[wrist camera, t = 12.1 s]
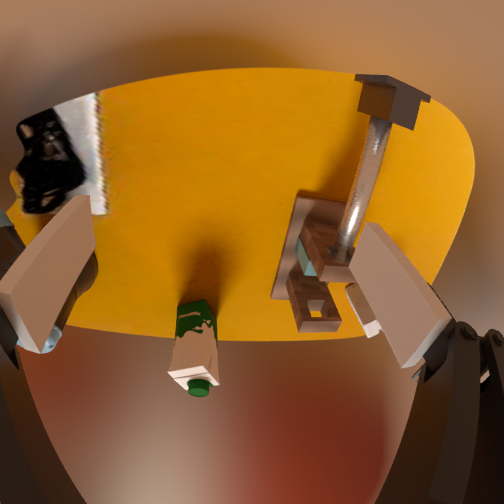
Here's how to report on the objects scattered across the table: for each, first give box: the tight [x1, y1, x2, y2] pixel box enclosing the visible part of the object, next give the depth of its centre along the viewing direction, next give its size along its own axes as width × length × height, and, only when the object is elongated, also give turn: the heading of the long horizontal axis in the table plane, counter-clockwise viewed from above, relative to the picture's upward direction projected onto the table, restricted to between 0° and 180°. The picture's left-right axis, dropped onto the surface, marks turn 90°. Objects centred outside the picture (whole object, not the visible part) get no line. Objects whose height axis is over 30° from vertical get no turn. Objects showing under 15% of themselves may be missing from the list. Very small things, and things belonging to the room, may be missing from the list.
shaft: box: [329, 74, 431, 263], centre depth 36 cm, size 30×7×9 cm, turn 171°
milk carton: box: [167, 299, 219, 397], centre depth 55 cm, size 9×9×20 cm
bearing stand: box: [270, 195, 357, 333], centre depth 51 cm, size 24×12×15 cm, turn 171°
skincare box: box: [345, 283, 383, 338], centre depth 60 cm, size 6×4×12 cm
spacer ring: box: [295, 236, 317, 276], centre depth 51 cm, size 3×8×8 cm, turn 81°
